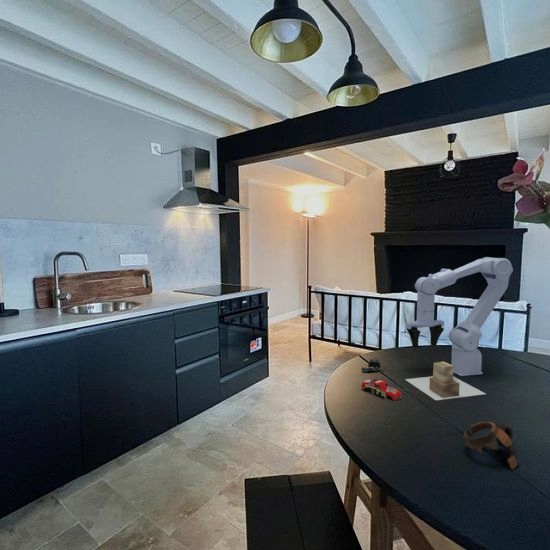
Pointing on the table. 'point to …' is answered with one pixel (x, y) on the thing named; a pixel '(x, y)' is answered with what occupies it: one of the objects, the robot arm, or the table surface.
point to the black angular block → (373, 364)
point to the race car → (381, 389)
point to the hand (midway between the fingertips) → (424, 346)
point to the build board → (463, 392)
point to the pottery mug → (492, 439)
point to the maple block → (443, 372)
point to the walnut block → (444, 388)
